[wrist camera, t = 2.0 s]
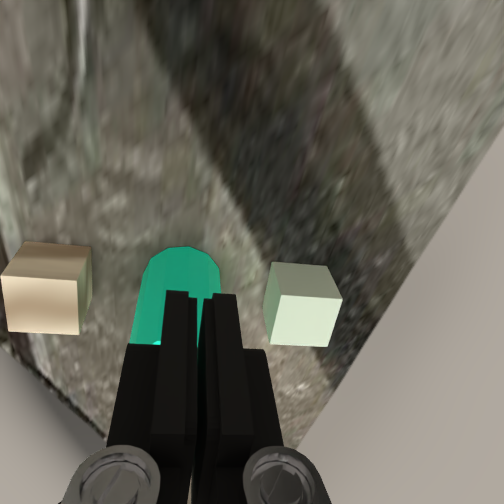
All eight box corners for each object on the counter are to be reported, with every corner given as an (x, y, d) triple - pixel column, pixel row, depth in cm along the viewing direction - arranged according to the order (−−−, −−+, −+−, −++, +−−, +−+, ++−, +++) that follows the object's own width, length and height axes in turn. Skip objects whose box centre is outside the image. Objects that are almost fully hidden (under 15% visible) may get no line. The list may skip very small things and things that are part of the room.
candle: (230, 297, 35) (244, 422, 25) (160, 318, 35) (145, 450, 25) (206, 236, 32) (210, 349, 22) (130, 259, 32) (97, 381, 22)
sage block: (271, 261, 34) (281, 294, 30) (326, 265, 35) (342, 299, 31) (261, 306, 36) (269, 344, 32) (313, 310, 37) (327, 346, 33)
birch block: (25, 240, 31) (0, 275, 27) (91, 246, 31) (76, 280, 28) (30, 292, 33) (8, 331, 29) (92, 296, 34) (79, 334, 30)
